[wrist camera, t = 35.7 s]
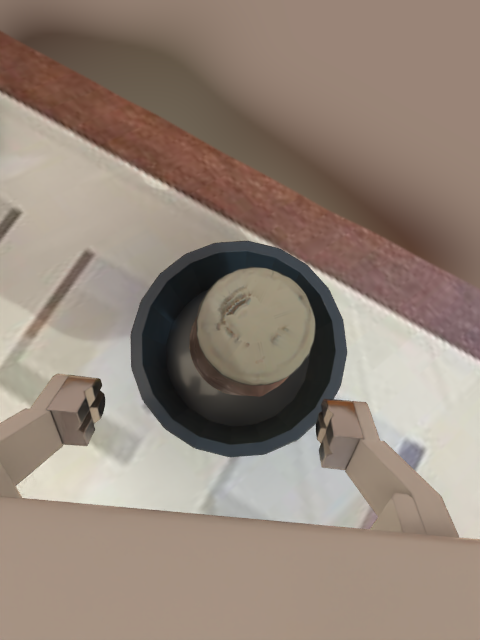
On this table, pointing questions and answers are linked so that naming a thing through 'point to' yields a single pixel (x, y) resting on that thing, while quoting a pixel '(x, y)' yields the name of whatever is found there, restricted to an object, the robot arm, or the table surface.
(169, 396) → the round dark pot
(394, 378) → the table surface
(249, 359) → the sauce bottle
